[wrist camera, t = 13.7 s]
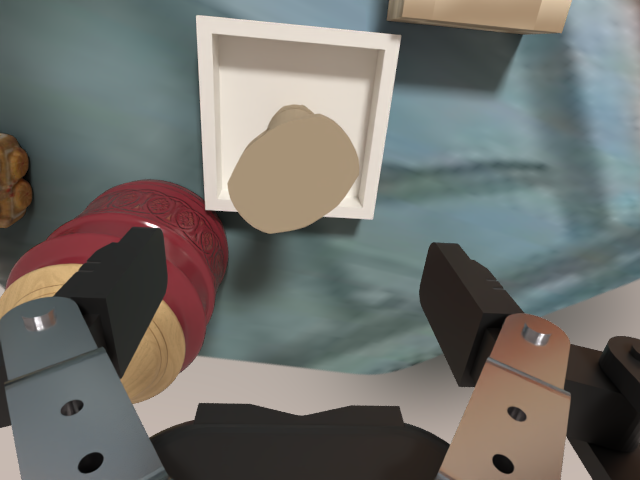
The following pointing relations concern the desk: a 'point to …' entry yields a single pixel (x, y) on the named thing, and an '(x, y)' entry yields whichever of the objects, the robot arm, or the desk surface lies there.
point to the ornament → (13, 181)
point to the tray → (292, 94)
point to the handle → (293, 171)
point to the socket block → (484, 14)
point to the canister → (182, 267)
